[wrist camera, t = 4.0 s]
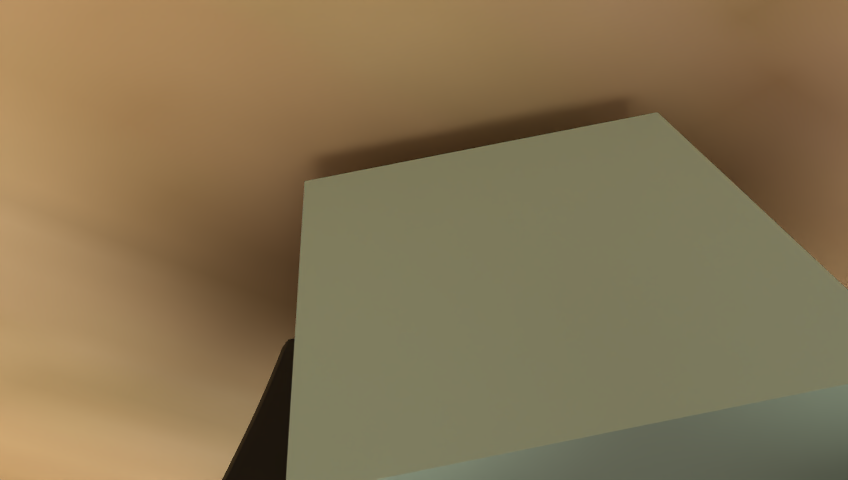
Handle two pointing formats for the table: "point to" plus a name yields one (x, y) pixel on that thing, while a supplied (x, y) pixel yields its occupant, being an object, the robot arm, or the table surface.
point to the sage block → (562, 320)
